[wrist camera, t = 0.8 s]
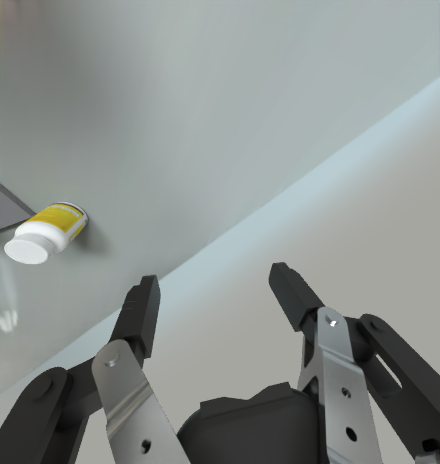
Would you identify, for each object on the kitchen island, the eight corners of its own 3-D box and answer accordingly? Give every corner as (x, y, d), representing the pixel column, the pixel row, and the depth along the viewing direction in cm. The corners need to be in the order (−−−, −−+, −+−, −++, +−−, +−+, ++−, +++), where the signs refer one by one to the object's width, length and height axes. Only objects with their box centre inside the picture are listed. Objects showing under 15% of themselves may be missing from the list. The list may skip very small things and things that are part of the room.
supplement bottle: (42, 200, 25) (-18, 236, 18) (82, 201, 27) (43, 234, 19) (57, 229, 28) (12, 270, 21) (93, 228, 30) (62, 266, 22)
